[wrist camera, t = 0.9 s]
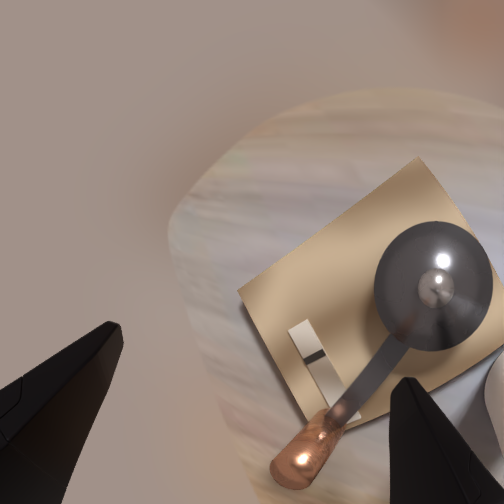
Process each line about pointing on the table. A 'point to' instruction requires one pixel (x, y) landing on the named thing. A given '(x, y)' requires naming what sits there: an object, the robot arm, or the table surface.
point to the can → (496, 398)
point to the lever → (401, 329)
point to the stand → (357, 300)
